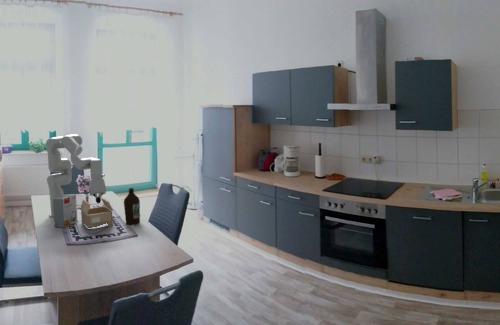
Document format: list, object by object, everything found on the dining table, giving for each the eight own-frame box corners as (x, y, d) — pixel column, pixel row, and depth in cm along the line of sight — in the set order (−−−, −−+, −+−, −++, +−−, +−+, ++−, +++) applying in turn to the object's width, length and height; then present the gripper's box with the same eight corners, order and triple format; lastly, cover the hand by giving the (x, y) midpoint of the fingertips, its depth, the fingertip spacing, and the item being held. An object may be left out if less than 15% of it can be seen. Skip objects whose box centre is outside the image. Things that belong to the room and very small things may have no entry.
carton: (81, 223, 283) (80, 209, 282) (105, 219, 292) (104, 206, 291) (88, 230, 267) (87, 215, 266) (113, 225, 277) (112, 211, 275)
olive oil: (121, 224, 280) (119, 189, 276) (132, 220, 289) (130, 186, 286) (133, 226, 275) (131, 190, 272) (143, 222, 285) (142, 187, 281)
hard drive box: (64, 228, 273) (61, 199, 270) (54, 227, 274) (51, 198, 271) (78, 221, 288) (76, 194, 285) (68, 220, 289) (66, 193, 286)
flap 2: (100, 197, 287) (101, 197, 288) (104, 205, 290) (105, 205, 290) (107, 202, 274) (108, 201, 274) (111, 210, 276) (112, 210, 277)
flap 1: (81, 209, 280) (80, 209, 280) (84, 199, 281) (83, 199, 280) (87, 214, 267) (86, 214, 267) (90, 204, 267) (89, 204, 267)
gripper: (106, 174, 283) (107, 200, 286) (83, 177, 275) (85, 203, 277) (109, 176, 277) (111, 202, 280) (86, 179, 269) (88, 205, 271)
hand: (98, 202), depth 279 cm, fingers closed
